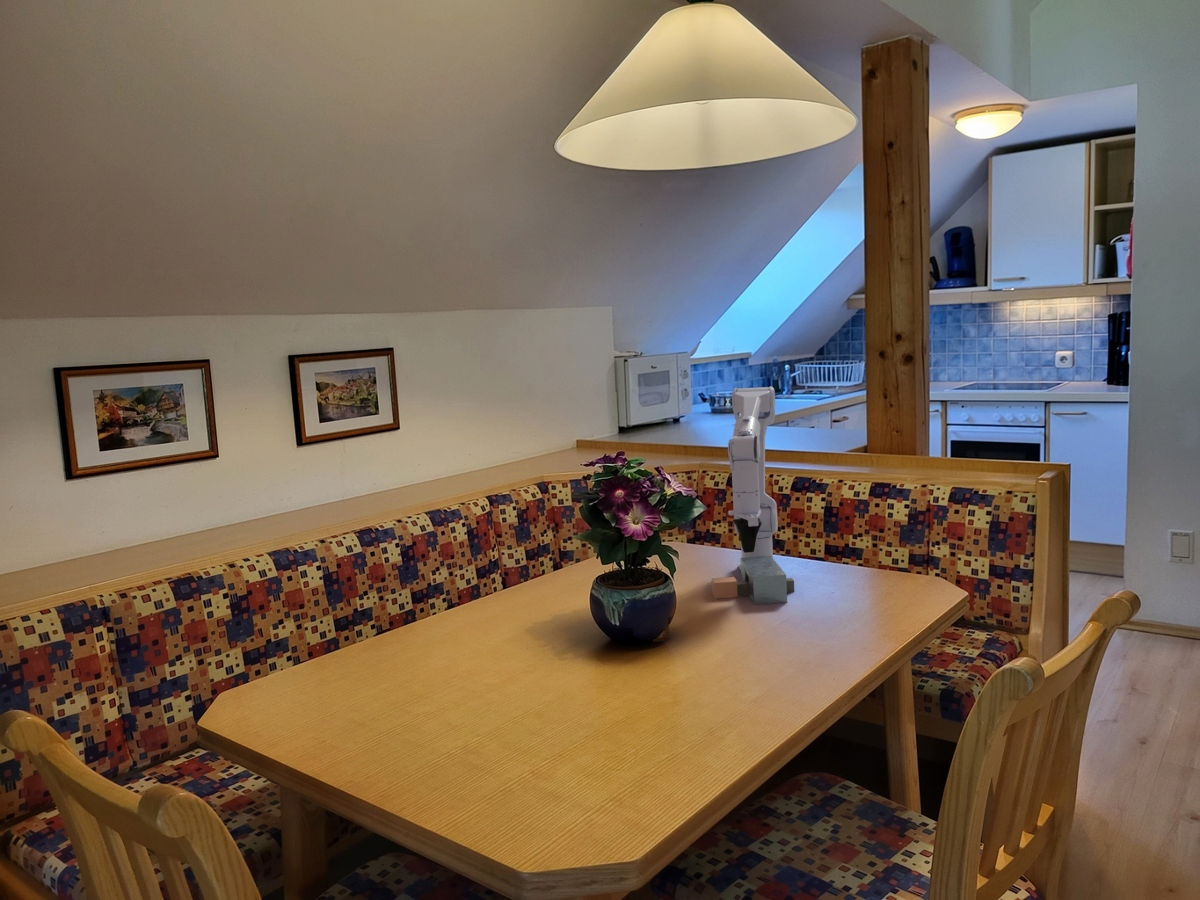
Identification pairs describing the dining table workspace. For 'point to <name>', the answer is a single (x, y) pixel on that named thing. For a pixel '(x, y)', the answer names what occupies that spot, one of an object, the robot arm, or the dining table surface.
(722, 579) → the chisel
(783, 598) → the block
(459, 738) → the dining table surface
